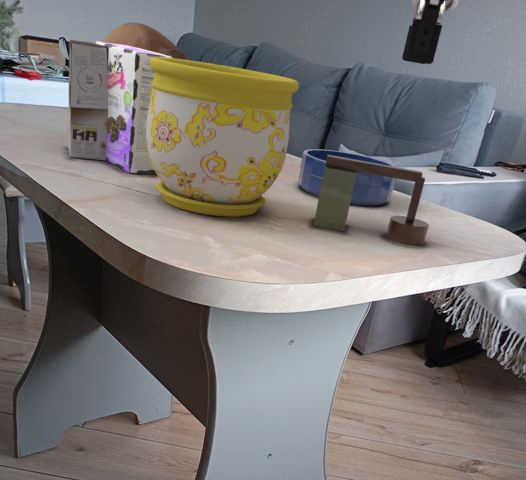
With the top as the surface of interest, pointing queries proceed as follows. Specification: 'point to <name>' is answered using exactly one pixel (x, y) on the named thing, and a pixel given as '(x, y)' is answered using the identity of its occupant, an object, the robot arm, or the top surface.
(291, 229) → the top surface
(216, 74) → the flowerpot
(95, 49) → the coffee box
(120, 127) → the candy box
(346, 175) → the olive green upright block
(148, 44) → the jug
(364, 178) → the bowl
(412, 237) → the wooden gallows stand
